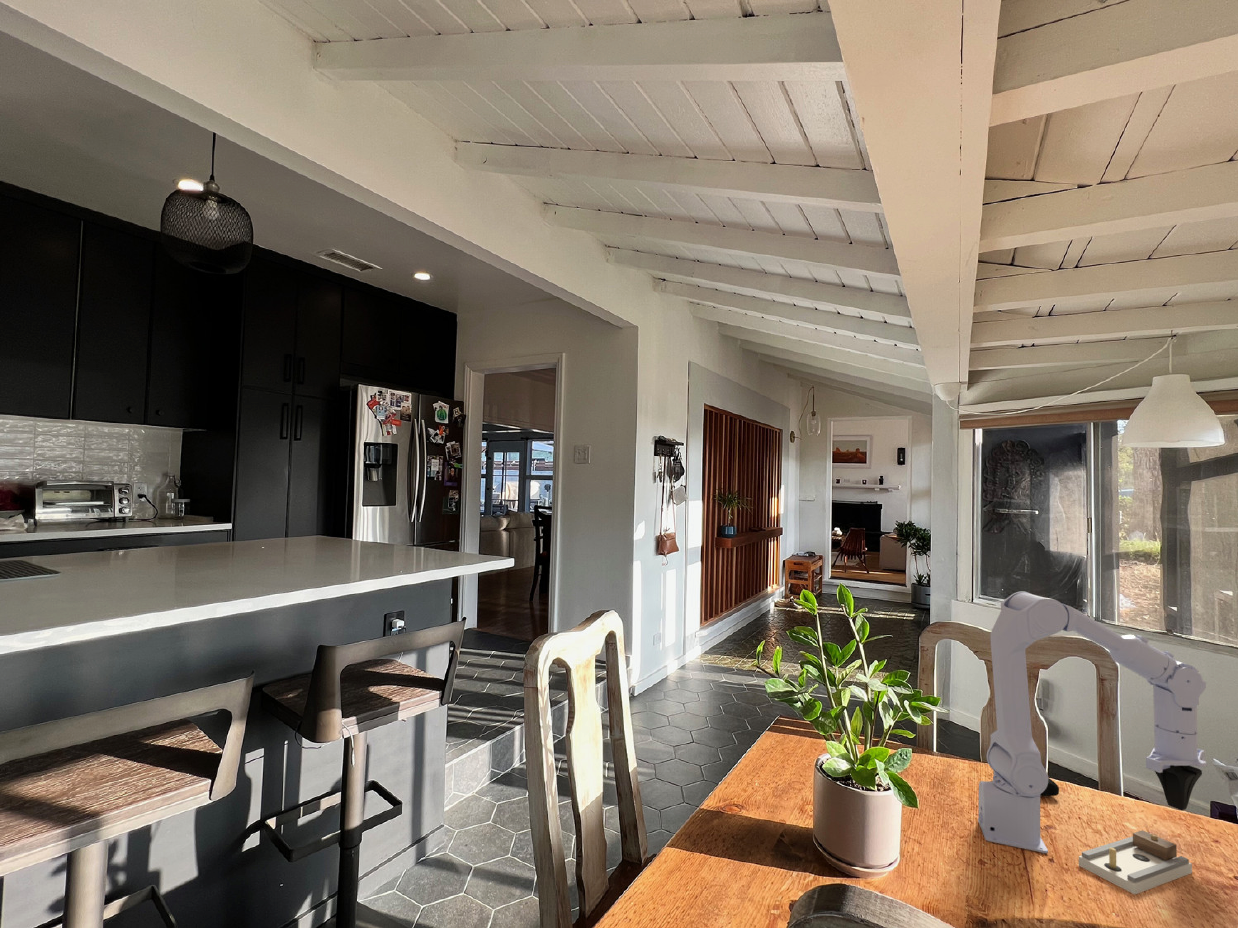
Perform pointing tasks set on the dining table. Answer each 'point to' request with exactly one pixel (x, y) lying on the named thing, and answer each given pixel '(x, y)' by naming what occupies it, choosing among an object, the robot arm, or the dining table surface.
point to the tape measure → (1050, 789)
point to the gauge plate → (1132, 866)
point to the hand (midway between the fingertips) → (1176, 807)
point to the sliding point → (1155, 845)
